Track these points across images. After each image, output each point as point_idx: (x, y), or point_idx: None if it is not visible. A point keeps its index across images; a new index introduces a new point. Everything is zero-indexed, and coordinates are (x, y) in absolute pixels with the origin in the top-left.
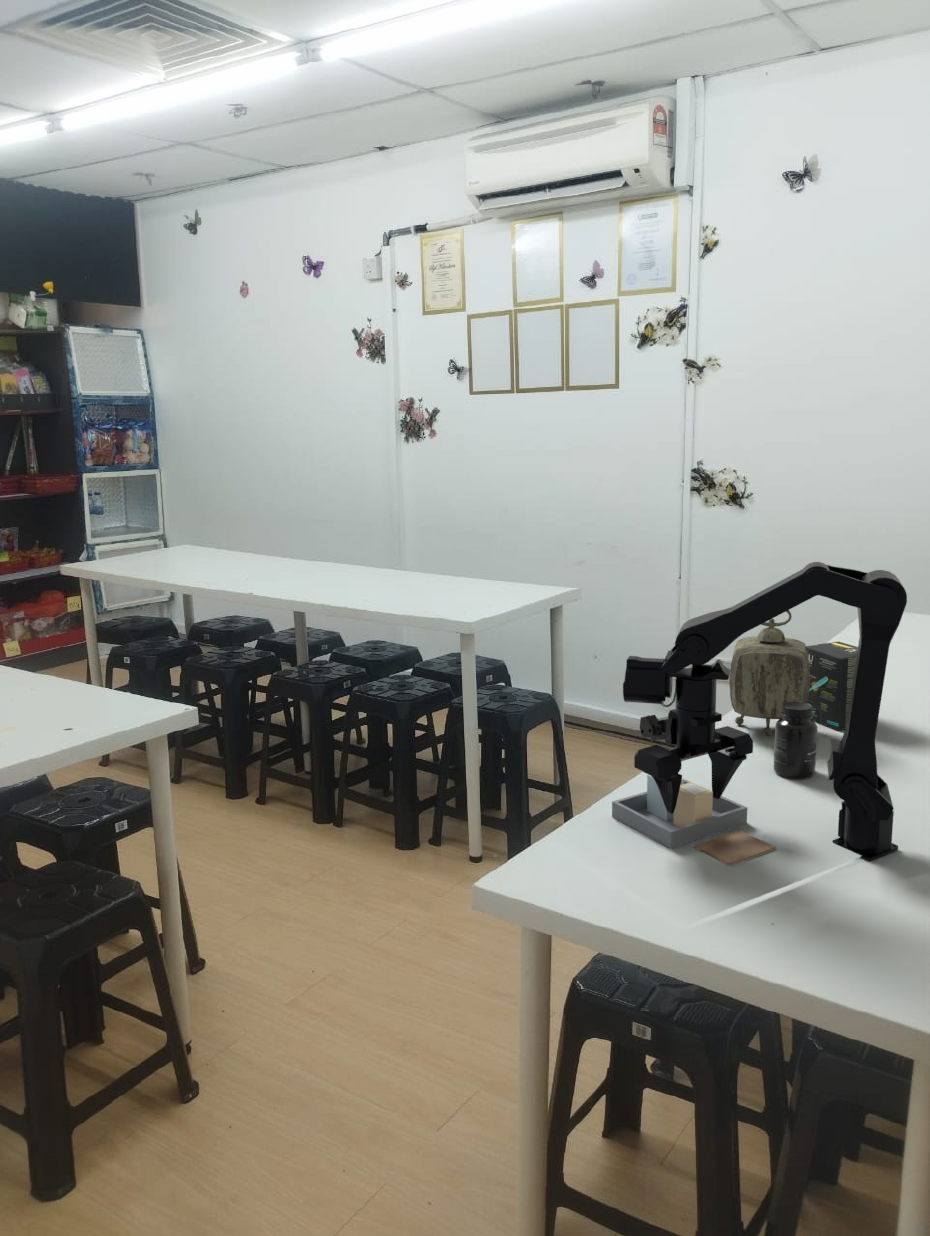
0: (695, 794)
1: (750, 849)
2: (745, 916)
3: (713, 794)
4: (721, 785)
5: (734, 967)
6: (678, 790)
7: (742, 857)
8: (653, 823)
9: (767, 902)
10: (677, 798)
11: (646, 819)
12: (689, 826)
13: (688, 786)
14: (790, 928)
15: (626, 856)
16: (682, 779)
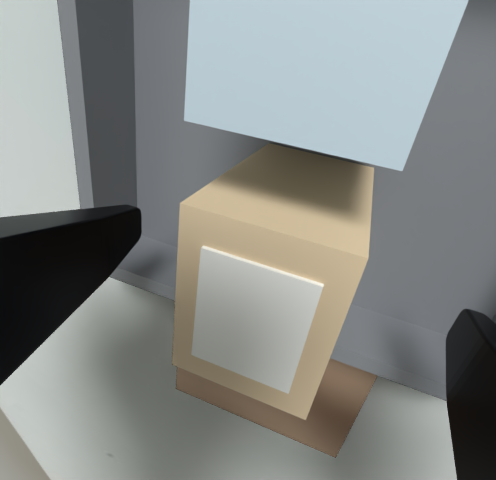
0: (198, 356)
1: (274, 412)
2: (92, 426)
3: (463, 324)
4: (461, 440)
5: (16, 430)
6: (11, 366)
7: (221, 405)
8: (78, 181)
9: (146, 446)
10: (70, 314)
11: (72, 136)
12: (165, 297)
13: (255, 287)
14: (121, 472)
15: (24, 156)
16: (374, 164)
